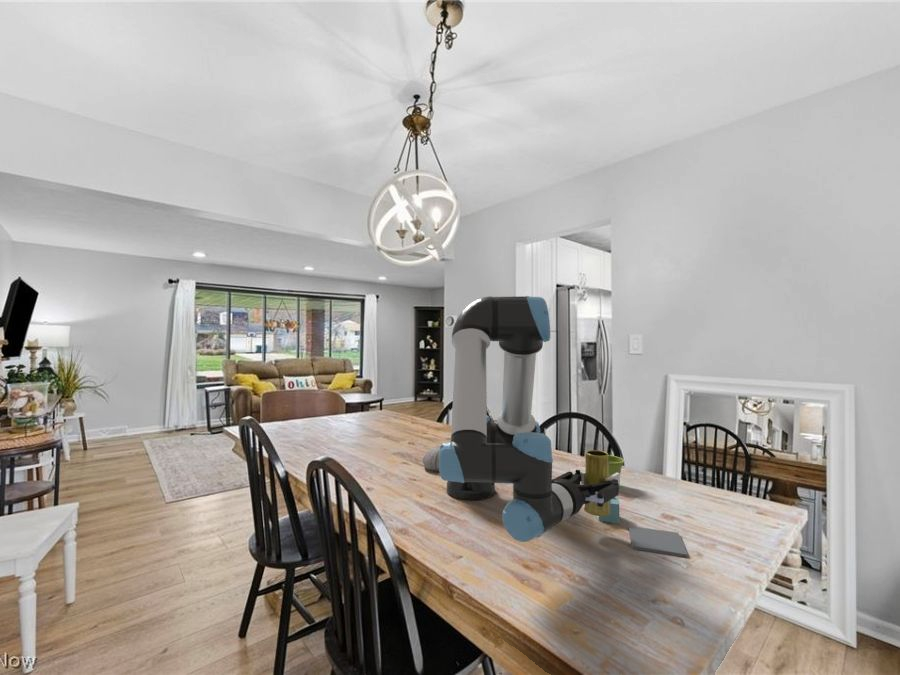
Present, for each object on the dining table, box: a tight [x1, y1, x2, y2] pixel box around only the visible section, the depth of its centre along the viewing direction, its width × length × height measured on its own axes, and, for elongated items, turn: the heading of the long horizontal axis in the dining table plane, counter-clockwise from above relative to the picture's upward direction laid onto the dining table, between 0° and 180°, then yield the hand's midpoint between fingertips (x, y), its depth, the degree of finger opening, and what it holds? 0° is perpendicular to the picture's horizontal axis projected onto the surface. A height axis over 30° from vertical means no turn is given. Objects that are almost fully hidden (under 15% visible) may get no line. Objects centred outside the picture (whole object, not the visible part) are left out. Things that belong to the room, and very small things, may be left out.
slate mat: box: [628, 525, 688, 558], centre depth 95 cm, size 11×11×1 cm
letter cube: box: [598, 496, 620, 525], centre depth 108 cm, size 5×5×5 cm
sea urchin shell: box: [422, 445, 441, 472], centre depth 153 cm, size 13×14×8 cm
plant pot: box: [608, 454, 625, 477], centre depth 134 cm, size 9×9×9 cm
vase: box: [583, 449, 610, 517], centre depth 100 cm, size 6×6×14 cm
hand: (606, 475), depth 104 cm, fingers closed on vase, 5 cm apart
